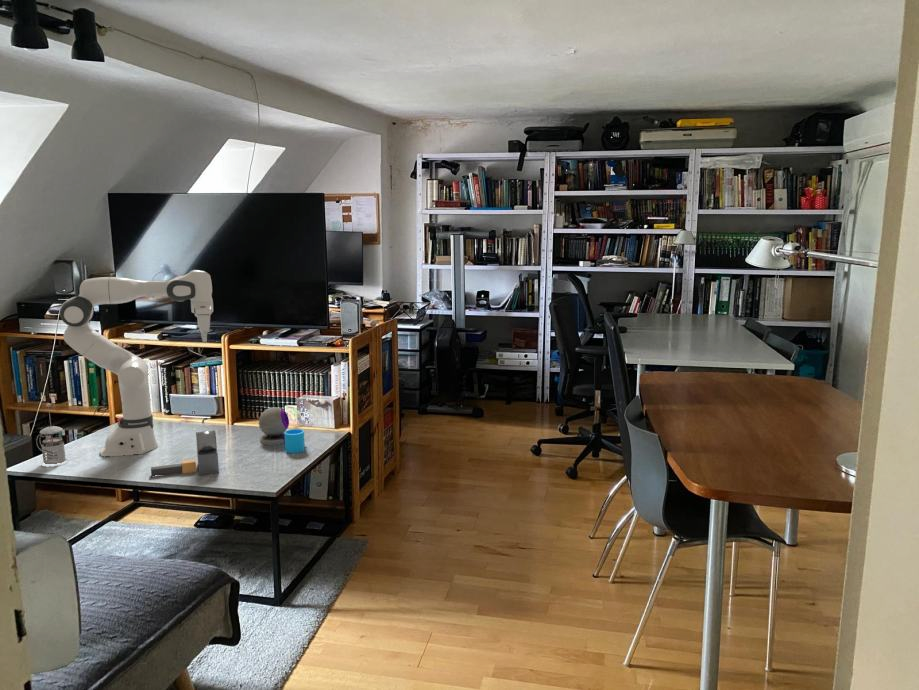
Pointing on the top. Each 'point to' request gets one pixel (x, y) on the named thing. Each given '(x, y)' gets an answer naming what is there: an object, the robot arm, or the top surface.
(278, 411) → the webcam
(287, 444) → the mug
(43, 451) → the french press
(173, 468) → the plug
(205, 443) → the block
